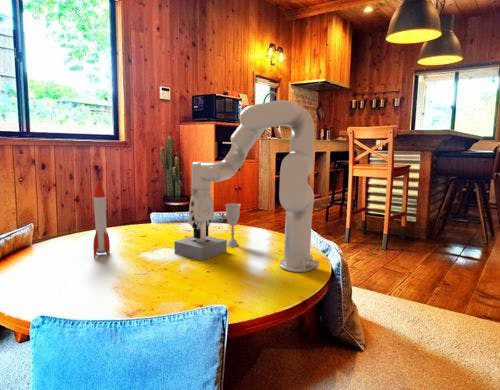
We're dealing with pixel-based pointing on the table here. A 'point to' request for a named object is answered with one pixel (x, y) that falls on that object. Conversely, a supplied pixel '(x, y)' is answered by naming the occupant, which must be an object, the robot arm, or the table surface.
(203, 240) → the peg
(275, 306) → the table surface
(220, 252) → the socket block
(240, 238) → the table surface
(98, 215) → the toy rocket
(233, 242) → the chalice
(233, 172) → the robot arm
